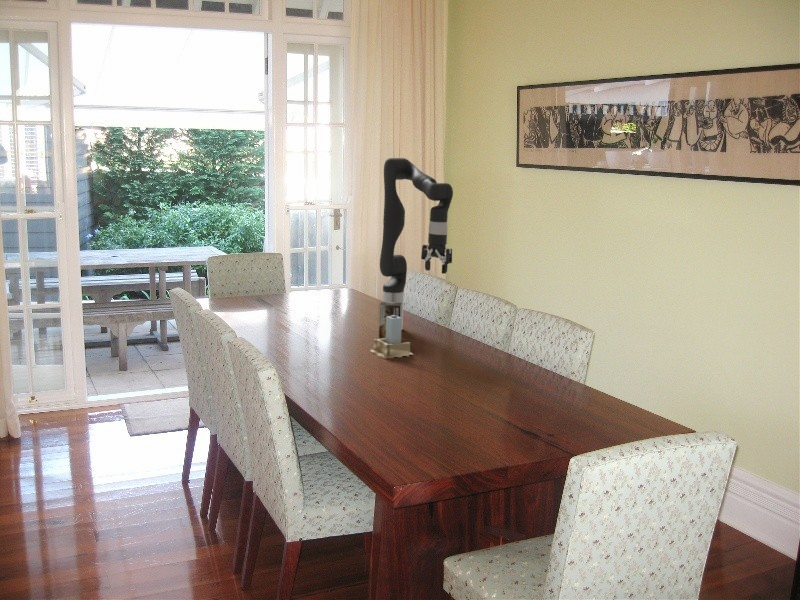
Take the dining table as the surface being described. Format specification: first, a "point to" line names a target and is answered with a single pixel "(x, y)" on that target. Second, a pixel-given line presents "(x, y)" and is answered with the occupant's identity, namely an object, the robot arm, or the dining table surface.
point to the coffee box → (387, 310)
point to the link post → (393, 329)
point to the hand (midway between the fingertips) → (435, 271)
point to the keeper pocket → (390, 349)
